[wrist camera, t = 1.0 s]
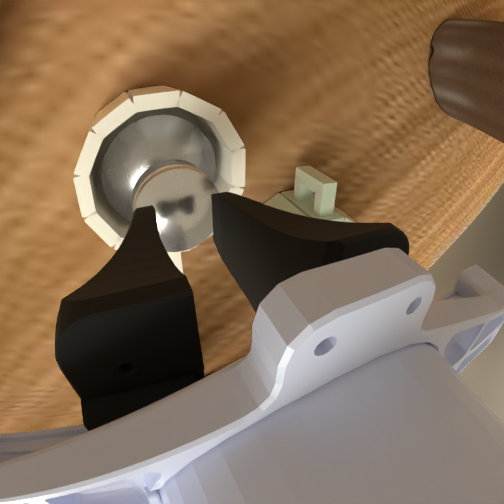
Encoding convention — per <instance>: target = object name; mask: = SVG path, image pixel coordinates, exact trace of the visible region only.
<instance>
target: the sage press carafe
mask: <svg viewBox="0 0 504 504" xmlns="http://www.w3.org/2000/svg"><path fill="white" fill-rule="evenodd" d="M336 189H337V182H336V181H335V180H333V179H331V178H330V177H328V176H326V175H325V174H323V173H321V172H320V171H318V170H316V169H314V168H313V167H311V166H300V167H296V173H295V187H294V190H291V191H284V192H281V194H279V193H278V194H276V195H275V196H274V197H272V198H271V199H270V200H268V201H267V202H265V203H264V204H265V205H268V206H271V207H274V208H277V209H280V210H283V211H287V212H290V213H294V214H298V215H303V216H307V217H312V218H318V219H325V220H331V221H341V222H355V223H357V222H356V221H354V220H353V219H352V218H350V217H349V216H348V215H346V214H345V213H343V212H342V211H341V210H339V209H338V208H337V207H335V206H334V203H335V196H336ZM313 192H314V193H313Z"/></svg>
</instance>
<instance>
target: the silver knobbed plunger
mask: <svg viewBox="0 0 504 504" xmlns="http://www.w3.org/2000/svg"><path fill="white" fill-rule="evenodd" d="M215 169H216V163H215V155H214V151H213V148H212V146H211V144H210V142H209V140H208V138H207V137H206V136H205V134H204V133H203V132H202V131H201V130H200V129H199V128H198V127H197V126H195V125H194V124H192V123H191V122H189V121H188V120H186V119H184V118H181V117H178V116H175V115H170V114H153V115H148V116H144V117H141V118H139V119H136V120H134V121H132V122H131V123H129V124H128V125H126V126H125V127H124V128H122V129H121V130H120V131H119V132H118V133H117V134H116V135H115V137H114V138H113V139H112V141H111V142H110V144H109V146H108V148H107V150H106V152H105V155H104V158H103V163H102V173H101V179H102V186H103V190H104V193H105V196H106V198H107V200H108V201H109V203H110V205H111V206H112V207H113V208H114V210H115V211H116V212H118V213H119V214H120V215H121V216H122V217H124V218H125V219H127V220H129V221H132V218H133V214H134V211H135V209H136V208H140V207H145V206H150V205H153V207H154V208H155V211H156V218H157V225H158V232H159V236H160V239H161V241H162V243H163V245H164V247H165V249H166V251H167V252H180V251H185V250H189V249H191V248H194V247H196V246H198V245H199V244H201V243H202V242H204V241H205V240H206V239H207V238H208V237H209V236H210V235H211V234H212V233H213V220H212V199H211V194H215V193H219V191H218V189H217V188H216V186H215V185H214V184H213V181H214V177H215Z"/></svg>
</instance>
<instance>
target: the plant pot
mask: <svg viewBox="0 0 504 504" xmlns="http://www.w3.org/2000/svg"><path fill="white" fill-rule="evenodd" d="M431 44H432V47H433V54H432V57H431V59H430V60H429V71H430V79H431V85H432V89H433V92H434V95H435V98H436V100H437V102H438V104H439V106H440V107H441V108H442V110H443V111H444V112H445V113H446V114H448V115H450V116H451V117H453V118H455V119H458V120H460V121H462V122H464V123H466V124H468V125H470V126H472V127H474V128H476V129H478V130H480V131H482V132H484V133H486V134H488V135H490V136H492V137H493V138H495V139H497V140H499V141H501V142H502V143H504V22H497V21H485V20H464V19H451V20H447V21H445V22H444V23H442V24H441V25H440V26H439V28H438V29H437V30H436V32H435V34H434V36H433V39H432V42H431Z"/></svg>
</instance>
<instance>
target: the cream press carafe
mask: <svg viewBox="0 0 504 504" xmlns="http://www.w3.org/2000/svg"><path fill="white" fill-rule="evenodd" d="M221 110H222V109H220V108H218V107H216V106H214V105H212V104H210V103H208V102H206V101H203V100H201V99H199V98H197V97H195V96H193V95H191V94H189V93H186V92H184V91H181V90H178V89H175V88H171V87H168V86H163V85H162V86H153V87H146V88H139V89H132V90H128V92H127V93H126V92H123V93H122V94H121V95H119V96H118V97H117V98H116V99H114V100H113V101H112V102H110V103H109V104H108V105H107V106H105V107H104V108H103V109H102V110H100V111H99V112H98V113H97V114H96V116H95V117H94V119H93V122H92V124H91V127H90V129H89V132H88V134H87V137H86V139H85V142H84V145H83V147H82V150H81V153H80V156H79V159H78V162H77V165H76V168H75V171H74V183H75V188H76V193H77V197H78V202H79V206H80V210H81V215H82V218H83V217H84V221H85V222H86V223H87V224H88V225H89V226H90V227H91V228H92V229H93V230H94V231H95V232H96V233H97V234H98V235H99V236H100V237H101V238H102V239H103V240H104V241H105V242H106V243H107V244H108V245H109V246H110V247H112V246H113V245H114V249H115V250H118V248H119V247H120V245H121V243H122V241H123V239H124V237H125V236H126V233H127V231H128V229H129V226H130V224H131V221H129V220H127V219H125V218H124V217H122V216H121V215H120V214H119V213H118V212H116V211H115V210H114V208H113V207H112V206H111V205H110V203H109V201H108V200H107V198H106V196H105V193H104V190H103V186H102V179H101V173H102V163H103V158H104V155H105V152H106V150H107V148H108V146H109V144H110V142H111V141H112V139H113V138H114V137H115V135H116V134H117V133H118V132H119V131H120V130H121V129H122V128H124V127H125V126H126V125H128V124H129V123H131V122H132V121H134V120H136V119H139V118H141V117H144V116H148V115H153V114H170V115H175V116H178V117H181V118H184V119H186V120H188V121H189V122H191V123H192V124H194V125H195V126H197V127H198V128H199V129H200V130H201V131H202V132H203V133H204V134H205V136H206V137H207V138H208V140H209V142H210V144H211V146H212V148H213V151H214V155H215V163H216V169H215V177H214V181H213V184H214V185H215V186H216V188H217V189H218V191H219V193H221V192H231V193H235V194H238V195H240V196H241V195H242V193H243V191H244V189H243V188H242V187H244V186H245V148H244V147H243V146H244V143H243V142H242V140H241V138H240V137H239V135H238V133H237V132H236V130H235V128H234V127H233V125H232V123H231V122H230V120H229V118H228V117H227V115H226V114H225V112H224V111H221ZM212 234H213V233H212ZM212 234H211V235H212ZM211 235H210V236H211ZM210 236H209V237H210ZM196 247H197V246H196ZM194 248H195V247H194ZM189 250H190V249H189ZM189 250H185V251H189ZM180 252H184V251H180ZM180 252H167V253H168V255H169V257H170V258H171V260H172V261H173V263H174V264H175V266H176V267H177V268H178V269H179V270H180V271H181V272H182V273H183V269H182V261H181V254H180Z"/></svg>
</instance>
